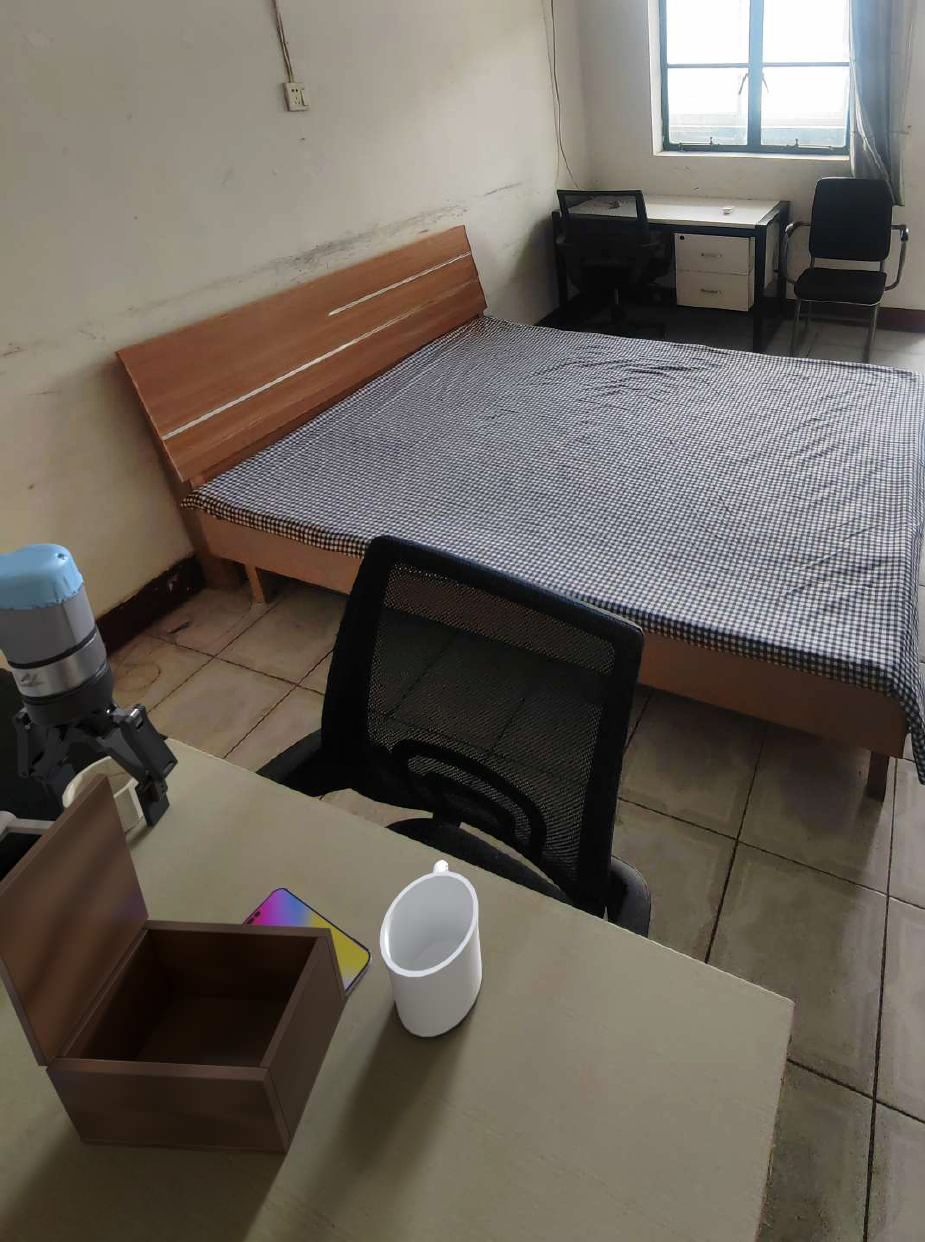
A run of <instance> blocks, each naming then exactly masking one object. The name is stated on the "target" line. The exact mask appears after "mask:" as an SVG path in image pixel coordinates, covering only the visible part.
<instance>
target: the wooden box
mask: <svg viewBox="0 0 925 1242" xmlns="http://www.w3.org/2000/svg"><path fill="white" fill-rule="evenodd" d="M347 1001H348V996H346V992H345V988H344V984H343V980H342V976H341V971H340V967H339V963H338V959H337V954H336V950H335V946H334V942H333V937H332V933H331V929H330V928H318V927H296V926H274V925H252V924H242V923H227V922H209V921H208V922H205V921H185V920H161V919H160V920H159V919H147V920H146V922H145V923H144V925H143V926H142V928H141V929H140V931H139V932H138V933H137V935H136V936H135V938H134V939H133V941H132V942H131V944H130V945H129V947H128V948H127V950H126V951H125V953H124V954H123V956H122V957H121V959H120V960H119V962H118V963H117V965H116V966H115V968H114V969H113V971H112V972H111V974H110V975H109V977H108V978H107V979H106V981H105V982H104V984H103V985H102V987H101V988H100V990H99V991H98V993H97V994H96V996H95V997H94V999H93V1000H92V1002H91V1003H90V1005H89V1006H88V1008H87V1009H86V1011H85V1012H84V1014H83V1015H82V1017H81V1018H80V1020H79V1021H78V1022H77V1024H76V1025H75V1027H74V1028H73V1030H72V1031H71V1033H70V1034H69V1036H68V1037H67V1039H66V1040H65V1042H64V1043H63V1045H62V1046H61V1048H60V1049H59V1051H58V1052H57V1054H56V1055H55V1057H54V1058H53V1060H52V1061H51V1063H50V1064H49V1065H48V1066H47V1067H46V1068H45V1073H46V1075H47V1076H48V1079H49V1081H50V1082H51V1084H52V1086H53V1088H54V1091H55V1092H56V1094H57V1097H58V1098H59V1100H60V1102H61V1104H62V1106H63V1108H64V1110H65V1113H66V1114H67V1116H68V1118H69V1120H70V1122H71V1124H72V1126H73V1128H74V1130H75V1132H76V1135H77V1136H78V1138H79V1140H80V1143H81V1145H84V1146H85V1145H86V1146H87V1145H88V1146H104V1147H105V1146H106V1147H122V1148H123V1147H125V1148H140V1149H141V1148H143V1149H158V1150H159V1149H160V1150H161V1149H162V1150H177V1151H178V1150H179V1151H180V1150H181V1151H198V1152H216V1153H217V1152H218V1153H219V1152H220V1153H233V1154H234V1153H235V1154H236V1153H237V1154H251V1155H252V1154H253V1155H254V1154H255V1155H271V1156H272V1155H273V1156H287V1155H288V1152H289V1150H290V1147H291V1144H292V1142H293V1140H294V1137H295V1134H296V1132H297V1130H298V1127H299V1125H300V1122H301V1118H302V1116H303V1114H304V1111H305V1109H306V1107H307V1103H308V1102H309V1099H310V1096H311V1093H312V1091H313V1089H314V1085H315V1084H316V1080H317V1078H318V1075H319V1073H320V1070H321V1068H322V1065H323V1063H324V1060H325V1058H326V1056H327V1052H328V1049H329V1047H330V1045H331V1042H332V1040H333V1037H334V1034H335V1031H336V1029H337V1026H338V1024H339V1021H340V1019H341V1017H342V1015H343V1011H344V1009H345V1007H346V1003H347Z"/></svg>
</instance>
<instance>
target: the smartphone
mask: <svg viewBox="0 0 925 1242" xmlns="http://www.w3.org/2000/svg"><path fill="white" fill-rule="evenodd" d="M241 924H252V925H274V926H296V927H318V928H330V929H331V933H332V937H333V942H334V946H335V950H336V954H337V959H338V963H339V967H340V971H341V976H342V980H343V984H344V988H345V992H346V996H347V997H348V996H349V995H350V993H351V992H352V990H353V989H355V987H356V985H357V984H358V983H359V981H360V980H361V979H362V978H363V976H364V975H365V974H366V972H367V971H368V969H369V968H370V967H371V964H372V961H373V957H372V952H371V950H370V949H369V948H368V947H366V945H364V944H363V943H361V942H360V941H359V940H357V939H356V938H354V937H353V936H352V935H351V934H349V933H348V932H346V931H345V930H344V929H342V928H341V927H339V926H338V924H335V923H334V922H333V921H332V920H330V919H329V918H328V917H326V916H325V915H324V914H322V913H321V912H319V911H318V910H317V909H315V908H314V907H313V906H312V905H310V904H308V903H307V902H306V901H305V900H303V899H302V898H300V897H299V896H298V895H297V894H295V893H294V892H292V891H291V890H290V889H289V888H287V887H285V886H280V887H277V888H275V889H274V890H272V891H271V892H270V893H269V894H268V896H267V897H266V898H264V900H263V901H261V903H259V905H258V906H256V908H255V909H254V910H253V911H252V912H251V913H250V914H249V915H248V916H247V917H246V919H244V920H243V922H241Z"/></svg>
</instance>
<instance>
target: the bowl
mask: <svg viewBox="0 0 925 1242" xmlns="http://www.w3.org/2000/svg"><path fill="white" fill-rule="evenodd" d="M98 773H105V774H107V775H108V779H109V782H110V786H111V789H112V792H113V796H114V799H115V803H116V806H117V809H118V813H119V816H120V820H121V823H122V826H123V830H124V833H126V832H129V830H131V829H132V828H133V827H134V826H135V825H137V824H138V823H139V821H140V820H142V818H143V817H144V815H143V812H142V809H141V806H140V803H139V800H138V797H137V794H136V791H135V789H134V788H135V787H136V785H137V784H138V783H139V782H137V781H136V780H135V779H134V778H133V777H132V776H131V775H130V774H129V773H128V772H126V771H125V770H124V769H123V768H122V767H121V766H120V765H119V764H118V763H117V762H115V761H114V760H113V759H112V758H111V757H110V756H109V755H107V756H106V757H103V758H101V759H99V760H97V761H95V762H93V763H92V764H90V765H88V766H87V767H86V768H84V769H83V770H81V771H80V772H79V773H77V775H75V776H76V777H75V778H74V779H73V780H72V781H71V782H70V783H69V784H68V786H67V788H66V790H65V792H64V794H63V796H62V799H63V806H64V809H65V810H66V809H67V807H68V806H69V805H70V804H71V803H72V802H73V801H74V800H75V798H76V797H77V796H78V795H79V794H80V793H81V792H82V791H83V790H84V788H85V787H86V786H87V785H88V784H89V783H90V782H91V781H92V779H93V778H94V777H95V776H96V775H97V774H98ZM142 816H143V817H142ZM141 817H142V818H141Z"/></svg>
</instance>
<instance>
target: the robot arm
mask: <svg viewBox="0 0 925 1242" xmlns="http://www.w3.org/2000/svg"><path fill="white" fill-rule="evenodd" d="M84 582H85V581H84V578H83V575H82V573H80V572H79V570H78V567H77V565H76V563H75V561H74V559H73V556H72V554H71V552H70V551H69V550H68V549H67V548H66V547H64V546H62V545H59V544H57V543H37V544H31V545H26V546H23V547H22V546H21V548H19V549H17V550H15V551H10V552H8V551H7V552H6V553H3V554H1V555H0V650H1V652H2V654H3V657H5V659H6V663H7V664H8V666H9V668H10V670H11V673H12V675H13V678H14V681H15V683H16V685H17V688H18V691H19V692H20V693H21V700H22V703H23V705H24V707H23V708H22V709H20V710H19V711H18V712H17V713H16V714H15V715H14V716H13V717H12V718H11V722H12V724H13V726H14V728H15V731H16V736H17V737H16V738H17V740H16V741H17V774H18V776H19V777H20V778H23V779H28V778H29V777H30V776H32V777H34V780H35V781H36V782H38V783H41V785H42V787H43V789H44V792H45V794H46V796H47V797H48V798H49V799H50V801H51V803H52V806H53V808H54V810H55V812H56V815H57V818H58V817H59V816H60V815H61V814H62V813H63V812H64V811H65V809H64V806H63V799H62V796H63V794H64V792H65V790H66V788H67V786H68V784H69V783H70V782H71V781H72V780H73V779H74V778H75V777H76V776H77V775H76V773H75V770H74V767H73V765H72V763H64V762H65V761H66V760H67V759H68V758H69V756H66V755H67V753H68V750H69V748H70V745H71V744H75V743H76V744H77V743H83V744H88V745H89V747H91V748H92V749H93V750H94V751H96V752H97V753H101V752H104V753H105V754H107V756H110V757H111V758H112V759H113V760H114V761H115V762H117V763H118V764H119V765H120V766H121V767H122V768H123V769H124V770H125V771H126V772H128V773H129V774H130V775H131V776H132V777H133V778H134V779H135V780H136V781H137V782H139V783H138V784H137V785H136V787H135V788H134V789H135V791H136V794H137V797H138V800H139V803H140V806H141V809H142V812H143V817H144V821H145V822H146V825H147V828H155V826H156V825H157V823H159V821H160V819H161V818H162V817H163V816H164V814H166V811H167V810H168V809H169V808H170V806H171V804H170V800H169V797H168V794H167V793H168V792H169V791H168V790H169V786H168V783H167V780H166V779H167V778H168V776H169V775H170V774H171V773H172V772H173V770H174V769H175V768H176V766H177V765H178V763H179V761H178V759H177V757H176V756H175V754H174V753H173V751H172V750H171V749H170V747H169V746H168V745H167V744H168V743H166V742H165V740H164V739H163V737H162V735H160V733H159V732H158V730H157V728H156V727H155V726H154V725H153V723H152V722H151V720H150V719H149V717H148V712H147V708H146V706H145V705H144V704H143V703H140V702H138V703H136V704H135V705H134V706H133V707H132V708H121V707H120V704H118V703H117V702H116V701H115V700H114V698H113V694H114V693H113V692H114V688H115V683H116V680H115V675H114V672H113V670H112V667H111V664H110V660H109V659H108V657H107V651H106V648H105V647H106V646H105V644H104V641H103V639H102V636H101V634H100V631H99V628H98V625H97V622H96V620H95V618H94V615H93V611H92V609H91V605H90V601H89V598H88V595H87V592H86V588H85V585H84ZM112 727H113V728H112ZM111 728H112V730H111V731H110V729H111ZM109 731H110V732H109ZM108 732H109V733H108ZM107 733H108V734H107ZM106 734H107V736H105V735H106ZM47 735H48V736H47ZM104 736H105V737H104ZM103 737H104V739H103ZM63 763H64V764H63ZM62 764H63V765H62ZM61 765H62V766H61Z"/></svg>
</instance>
